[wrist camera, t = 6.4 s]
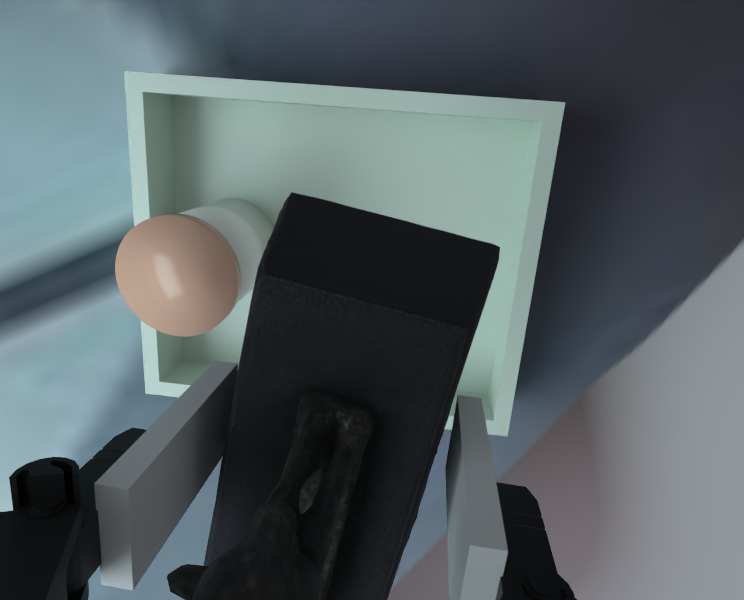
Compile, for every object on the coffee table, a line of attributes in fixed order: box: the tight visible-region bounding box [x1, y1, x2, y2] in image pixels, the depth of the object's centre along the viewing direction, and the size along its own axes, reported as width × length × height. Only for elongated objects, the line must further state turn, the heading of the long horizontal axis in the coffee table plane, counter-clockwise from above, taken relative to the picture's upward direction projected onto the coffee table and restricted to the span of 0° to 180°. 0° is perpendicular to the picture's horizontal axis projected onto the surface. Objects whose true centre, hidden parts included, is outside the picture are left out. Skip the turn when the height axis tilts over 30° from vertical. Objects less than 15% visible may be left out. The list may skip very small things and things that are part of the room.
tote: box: [124, 71, 565, 436], centre depth 34 cm, size 20×24×4 cm
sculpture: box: [167, 192, 500, 600], centre depth 13 cm, size 8×13×15 cm, turn 164°
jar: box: [115, 198, 274, 337], centre depth 31 cm, size 6×6×9 cm
